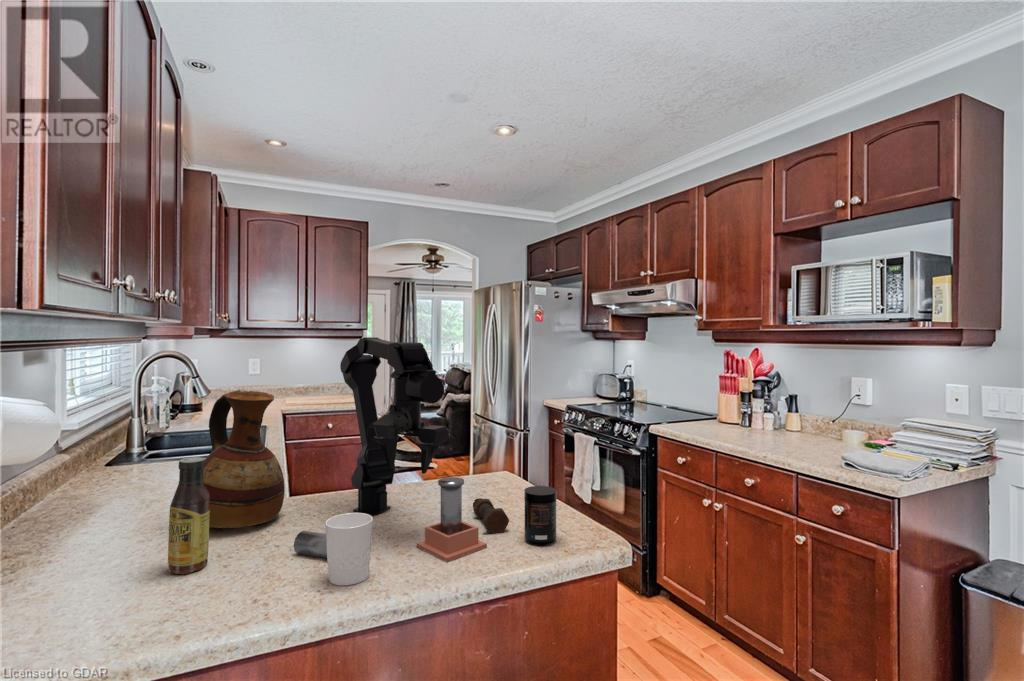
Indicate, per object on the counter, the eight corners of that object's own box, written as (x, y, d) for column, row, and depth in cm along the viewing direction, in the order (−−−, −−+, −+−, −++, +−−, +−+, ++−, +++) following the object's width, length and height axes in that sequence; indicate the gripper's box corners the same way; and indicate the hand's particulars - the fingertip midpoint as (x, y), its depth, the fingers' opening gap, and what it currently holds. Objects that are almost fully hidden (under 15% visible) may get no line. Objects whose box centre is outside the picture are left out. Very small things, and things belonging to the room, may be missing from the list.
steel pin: (434, 547, 101) (434, 483, 101) (443, 537, 106) (443, 476, 106) (459, 549, 100) (459, 484, 100) (467, 539, 105) (467, 478, 105)
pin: (303, 555, 101) (290, 551, 98) (311, 533, 103) (299, 528, 100) (355, 563, 98) (343, 559, 94) (362, 540, 100) (351, 536, 96)
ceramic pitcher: (235, 544, 104) (236, 396, 104) (163, 531, 111) (164, 393, 111) (303, 513, 123) (304, 388, 123) (238, 504, 129) (239, 386, 130)
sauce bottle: (159, 573, 91) (159, 461, 91) (192, 559, 97) (192, 454, 97) (185, 578, 89) (186, 464, 89) (217, 564, 95) (218, 456, 95)
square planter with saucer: (416, 547, 103) (416, 527, 103) (455, 534, 110) (455, 515, 110) (446, 562, 96) (446, 540, 96) (486, 547, 103) (486, 527, 103)
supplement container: (553, 533, 111) (553, 485, 111) (559, 546, 104) (559, 494, 104) (522, 534, 110) (522, 486, 110) (526, 547, 103) (526, 495, 103)
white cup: (326, 591, 85) (327, 530, 85) (323, 571, 92) (324, 516, 92) (375, 582, 88) (375, 524, 88) (369, 564, 95) (369, 510, 95)
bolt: (481, 519, 125) (500, 539, 111) (464, 510, 124) (480, 530, 109) (493, 497, 126) (512, 514, 112) (475, 488, 125) (493, 505, 111)
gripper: (348, 400, 110) (348, 473, 110) (417, 406, 101) (417, 485, 101) (384, 396, 120) (384, 463, 120) (450, 400, 111) (450, 472, 111)
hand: (407, 470), depth 112 cm, fingers open, 9 cm apart
